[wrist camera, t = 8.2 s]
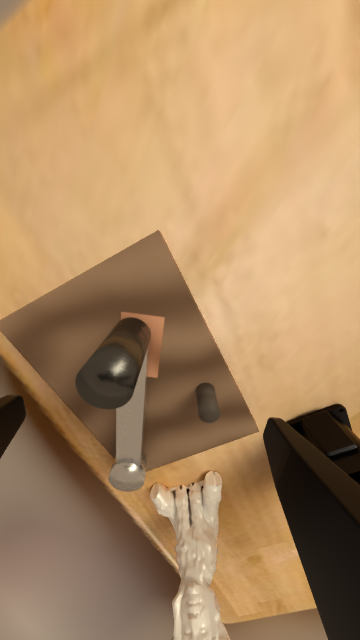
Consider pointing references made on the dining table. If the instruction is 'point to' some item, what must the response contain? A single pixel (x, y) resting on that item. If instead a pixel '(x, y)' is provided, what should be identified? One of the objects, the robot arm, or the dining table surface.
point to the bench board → (164, 355)
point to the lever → (121, 395)
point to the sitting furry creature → (194, 555)
